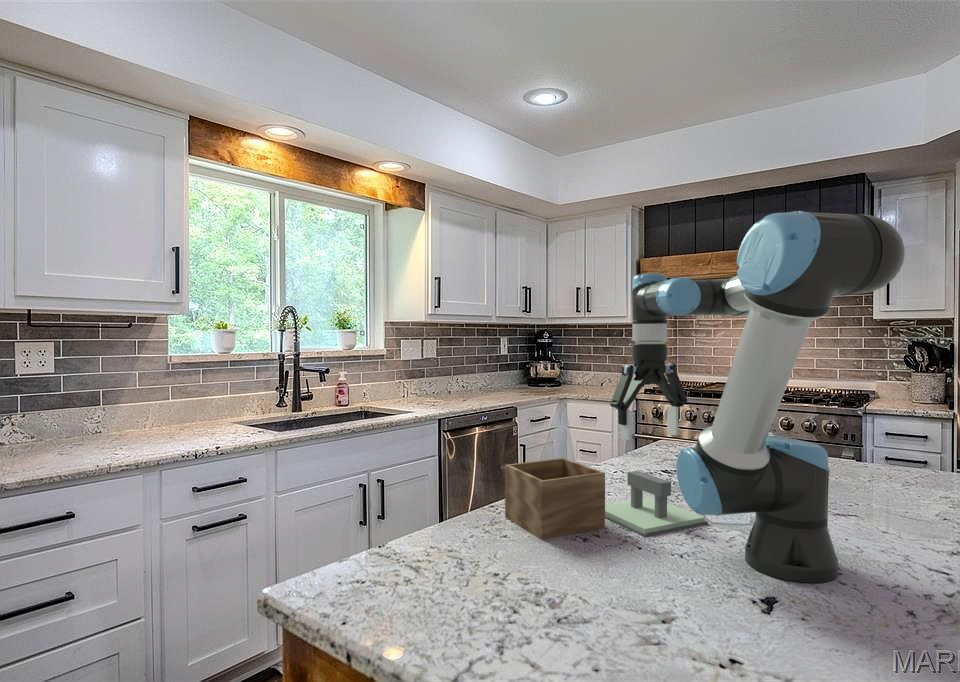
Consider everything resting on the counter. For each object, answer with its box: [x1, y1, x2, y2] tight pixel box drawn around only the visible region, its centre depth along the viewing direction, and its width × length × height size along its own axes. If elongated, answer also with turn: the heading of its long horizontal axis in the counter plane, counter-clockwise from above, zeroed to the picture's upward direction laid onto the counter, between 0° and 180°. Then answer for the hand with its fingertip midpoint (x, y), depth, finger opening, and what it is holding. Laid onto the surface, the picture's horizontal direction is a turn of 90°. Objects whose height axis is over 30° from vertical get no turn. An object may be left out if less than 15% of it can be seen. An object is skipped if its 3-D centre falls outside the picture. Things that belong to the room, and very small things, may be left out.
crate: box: [504, 457, 606, 540], centre depth 132 cm, size 16×16×12 cm
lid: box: [605, 470, 706, 534], centre depth 135 cm, size 17×17×9 cm
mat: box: [605, 515, 709, 538], centre depth 135 cm, size 18×18×1 cm
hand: (649, 437), depth 134 cm, fingers open, 13 cm apart
